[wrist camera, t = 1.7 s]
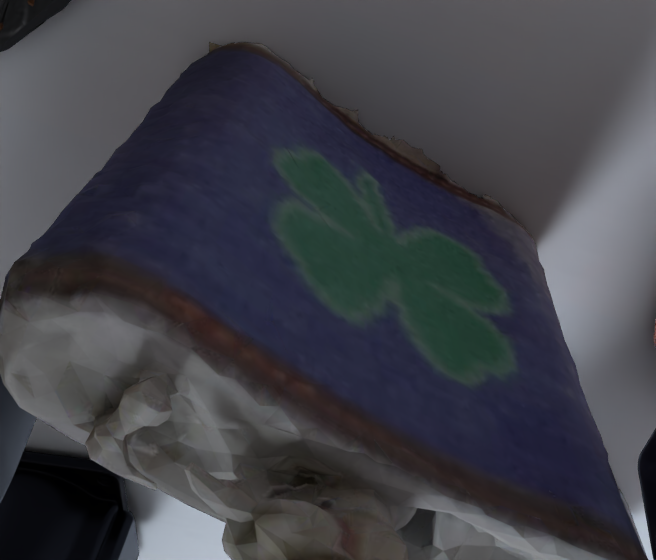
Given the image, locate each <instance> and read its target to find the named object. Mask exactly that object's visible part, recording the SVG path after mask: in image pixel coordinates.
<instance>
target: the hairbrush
mask: <svg viewBox="0 0 656 560" xmlns="http://www.w3.org/2000/svg"><path fill="white" fill-rule="evenodd" d="M70 1H71V0H0V52H1V51H4V50H7V49H9V48H11V47H12V46H13V45H15V44H16V43H17V42H19V41H20V40H21V39H23V38H24V37H25V36H27V35H28V34H29V33H31V32H32V31H33V30H35V29H36V28H37V27H39V26H40V25H41V24H42V23H44V22H45V21H46V20H47V19H49V18H50V17H52V16H53V15H55V14H56V13H58V12H60V11H61V10H63V9H64V8H65V7H66V6H67V4H68V3H69V2H70Z"/></svg>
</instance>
